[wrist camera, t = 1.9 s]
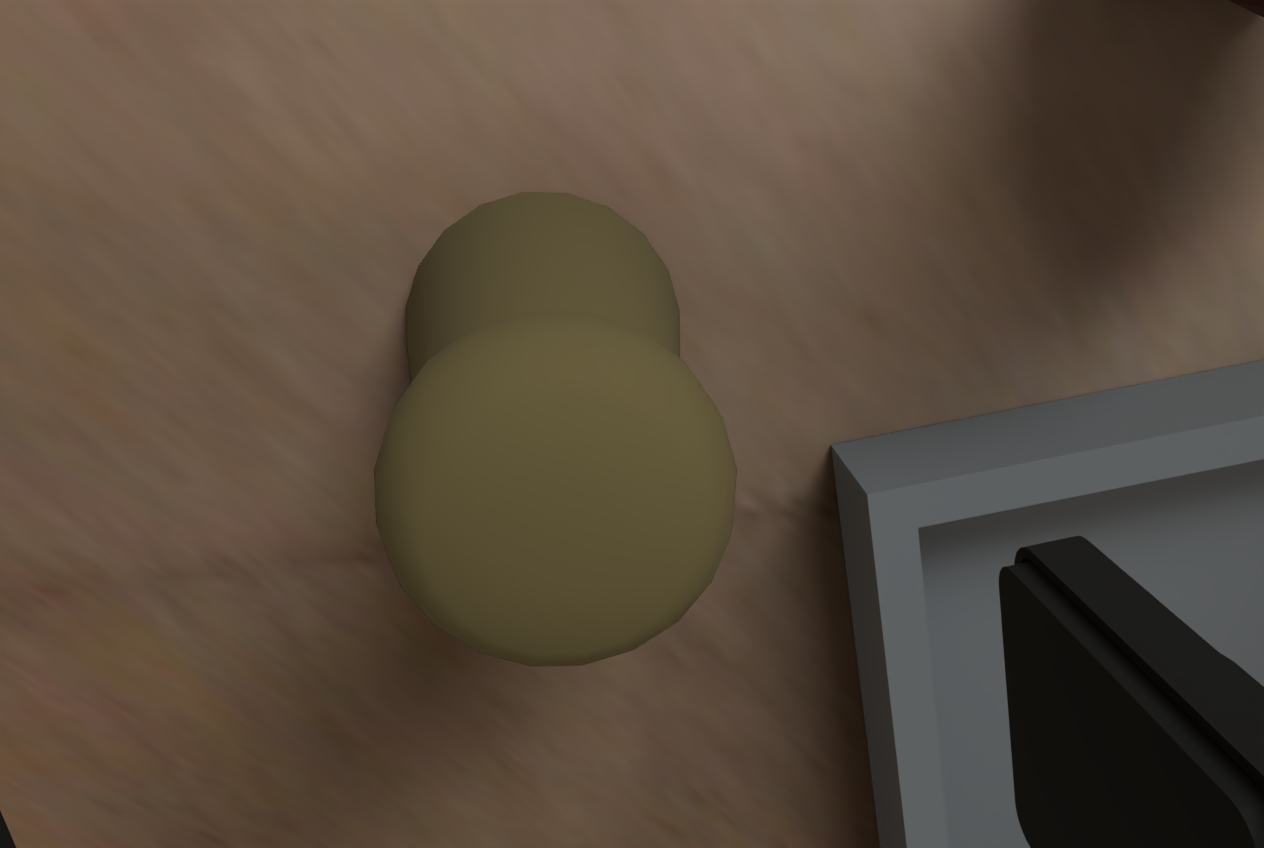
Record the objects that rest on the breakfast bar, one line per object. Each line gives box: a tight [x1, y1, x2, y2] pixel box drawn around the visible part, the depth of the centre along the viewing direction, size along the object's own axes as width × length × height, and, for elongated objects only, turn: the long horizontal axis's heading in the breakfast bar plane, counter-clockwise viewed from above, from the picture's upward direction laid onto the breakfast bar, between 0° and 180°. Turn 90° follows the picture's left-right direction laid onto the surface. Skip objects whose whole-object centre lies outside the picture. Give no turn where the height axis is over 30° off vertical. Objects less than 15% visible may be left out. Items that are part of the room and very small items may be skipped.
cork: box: [374, 192, 737, 666], centre depth 20 cm, size 6×6×11 cm
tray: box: [831, 360, 1264, 848], centre depth 29 cm, size 16×16×3 cm
